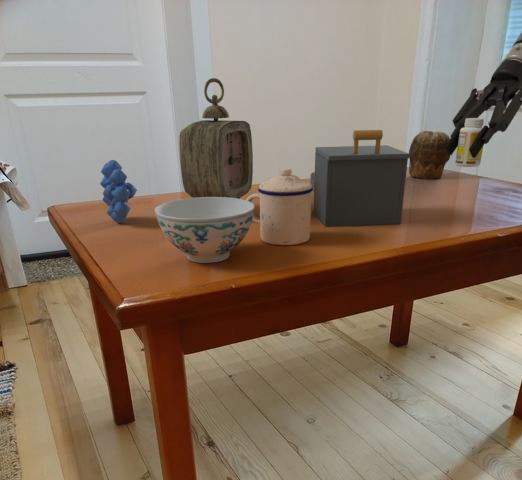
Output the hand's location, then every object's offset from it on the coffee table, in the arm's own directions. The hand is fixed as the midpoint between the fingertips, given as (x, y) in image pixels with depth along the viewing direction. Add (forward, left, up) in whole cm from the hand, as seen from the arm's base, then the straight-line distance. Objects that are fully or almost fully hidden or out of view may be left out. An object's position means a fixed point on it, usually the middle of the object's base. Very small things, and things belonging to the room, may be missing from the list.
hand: (460, 152), depth 117 cm
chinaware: (-42, +58, -9) cm, 72 cm away
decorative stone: (+5, +27, -9) cm, 29 cm away
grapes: (-18, +75, -9) cm, 77 cm away
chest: (-20, +29, -9) cm, 36 cm away
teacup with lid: (-33, +46, -9) cm, 57 cm away
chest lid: (-20, +29, +3) cm, 35 cm away
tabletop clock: (-13, +56, -9) cm, 58 cm away
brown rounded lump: (+23, -2, -9) cm, 25 cm away
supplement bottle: (+2, -3, -4) cm, 5 cm away
